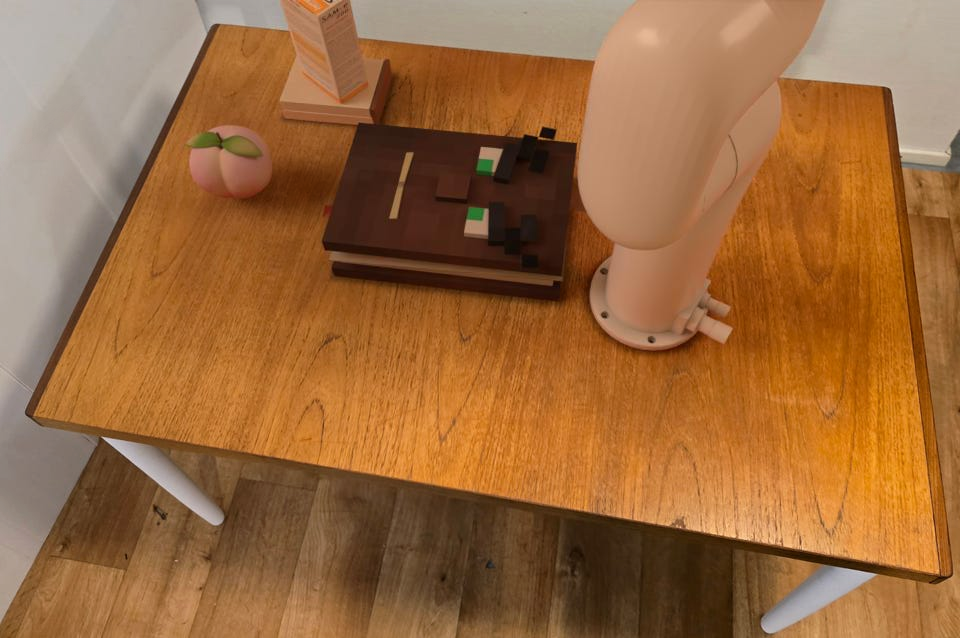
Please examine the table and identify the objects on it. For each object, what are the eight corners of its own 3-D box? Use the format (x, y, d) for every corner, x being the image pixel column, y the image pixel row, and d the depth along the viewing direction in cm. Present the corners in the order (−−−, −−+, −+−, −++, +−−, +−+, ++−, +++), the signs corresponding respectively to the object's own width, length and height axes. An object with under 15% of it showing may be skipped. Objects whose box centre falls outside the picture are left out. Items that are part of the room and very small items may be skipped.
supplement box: (370, 85, 94) (352, -5, 82) (341, 106, 92) (318, 17, 81) (330, 54, 97) (306, -37, 86) (300, 73, 95) (272, -17, 84)
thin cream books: (392, 77, 99) (389, 59, 96) (378, 127, 94) (374, 109, 92) (303, 69, 100) (297, 51, 97) (285, 118, 96) (278, 101, 93)
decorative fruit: (290, 164, 92) (267, 104, 83) (276, 217, 88) (251, 160, 79) (215, 162, 92) (185, 102, 84) (199, 215, 88) (165, 158, 80)
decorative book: (339, 107, 86) (600, 131, 83) (351, 152, 92) (593, 176, 90) (294, 243, 77) (586, 275, 74) (311, 282, 83) (579, 313, 80)
